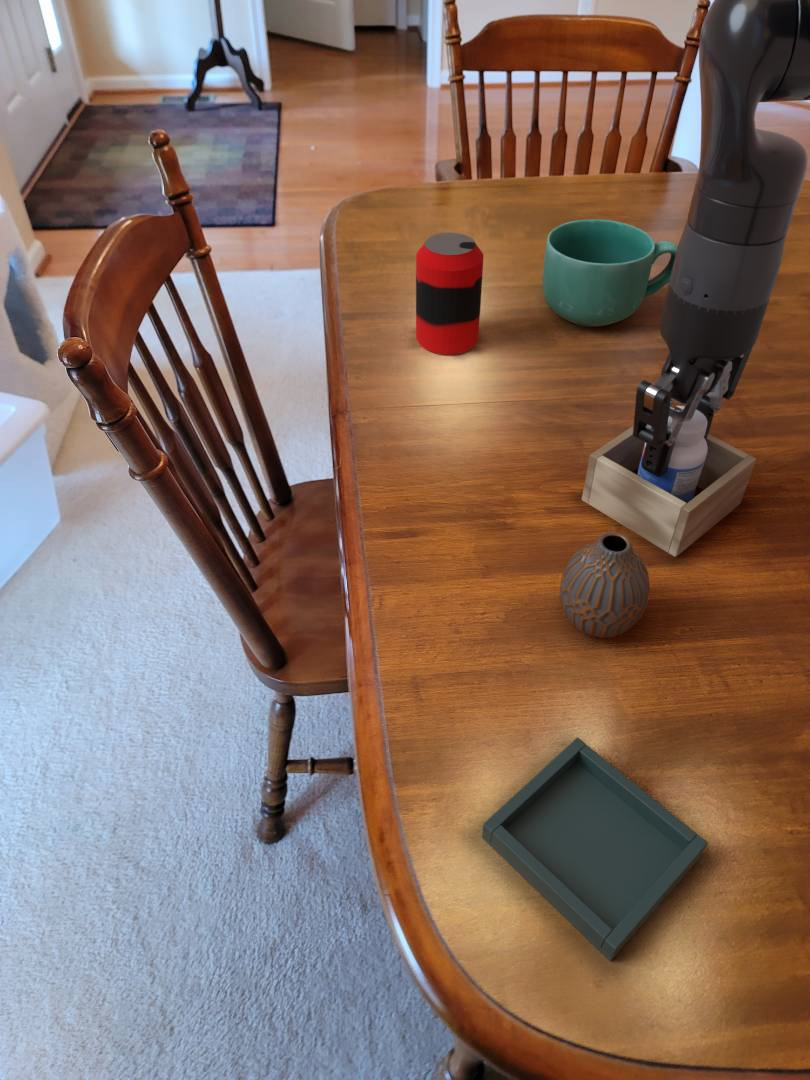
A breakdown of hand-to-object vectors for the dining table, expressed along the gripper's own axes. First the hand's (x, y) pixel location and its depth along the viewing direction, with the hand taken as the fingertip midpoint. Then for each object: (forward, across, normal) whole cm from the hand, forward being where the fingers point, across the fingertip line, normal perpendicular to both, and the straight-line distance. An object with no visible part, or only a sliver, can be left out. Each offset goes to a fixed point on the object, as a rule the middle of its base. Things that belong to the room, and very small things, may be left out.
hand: (673, 456), depth 75 cm
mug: (+6, +25, +26) cm, 37 cm away
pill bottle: (+6, 0, 0) cm, 6 cm away
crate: (+5, 0, 0) cm, 5 cm away
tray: (+5, -32, -17) cm, 37 cm away
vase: (+6, -16, -5) cm, 18 cm away
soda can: (+6, +6, +35) cm, 36 cm away
